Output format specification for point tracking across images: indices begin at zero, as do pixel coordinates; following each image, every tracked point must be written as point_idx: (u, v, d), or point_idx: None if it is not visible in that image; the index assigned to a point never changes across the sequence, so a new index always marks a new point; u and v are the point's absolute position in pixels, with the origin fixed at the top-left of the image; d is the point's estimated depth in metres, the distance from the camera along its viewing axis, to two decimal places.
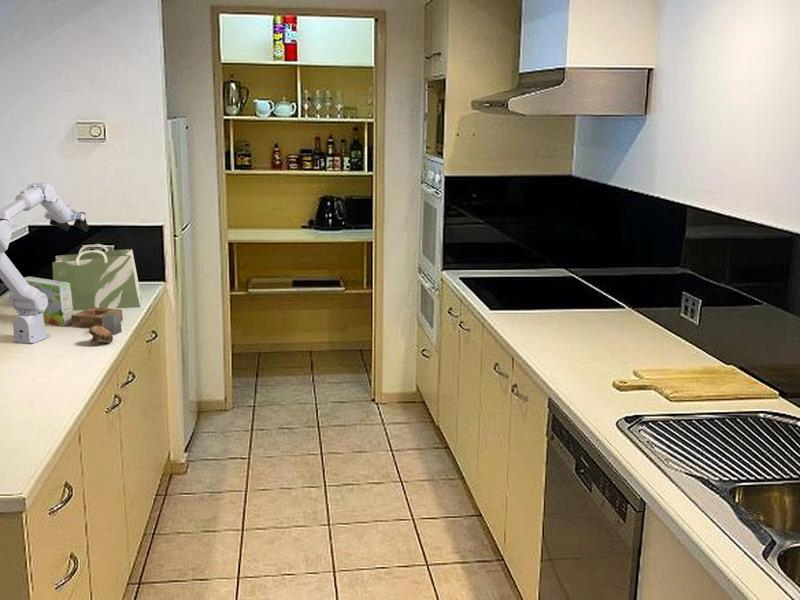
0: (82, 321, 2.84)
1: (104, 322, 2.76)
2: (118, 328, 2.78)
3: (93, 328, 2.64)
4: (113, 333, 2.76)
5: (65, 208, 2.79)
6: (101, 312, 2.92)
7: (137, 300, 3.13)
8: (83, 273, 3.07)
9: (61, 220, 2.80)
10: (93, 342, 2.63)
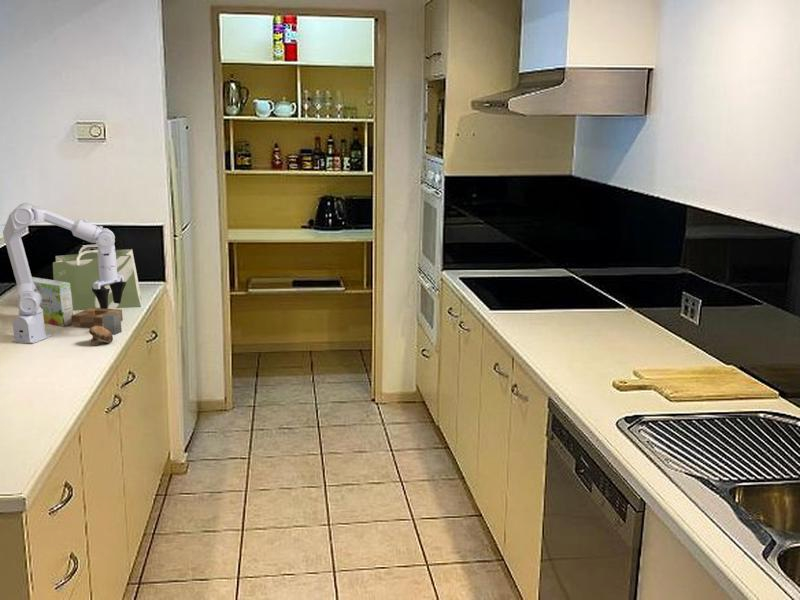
0: (82, 321, 2.84)
1: (104, 322, 2.76)
2: (118, 328, 2.78)
3: (93, 328, 2.64)
4: (113, 333, 2.76)
5: (103, 270, 2.71)
6: (101, 312, 2.92)
7: (137, 300, 3.13)
8: (83, 273, 3.07)
9: None
10: (93, 342, 2.63)
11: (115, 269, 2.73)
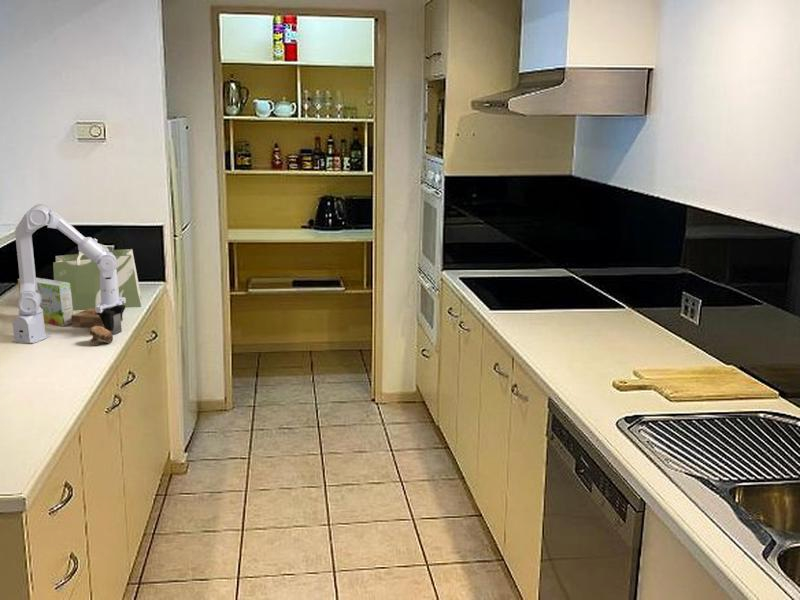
0: (82, 321, 2.84)
1: None
2: (118, 328, 2.78)
3: (93, 328, 2.64)
4: (113, 333, 2.76)
5: (105, 294, 2.73)
6: None
7: (138, 300, 3.13)
8: (84, 273, 3.07)
9: None
10: (93, 342, 2.63)
11: (117, 292, 2.75)
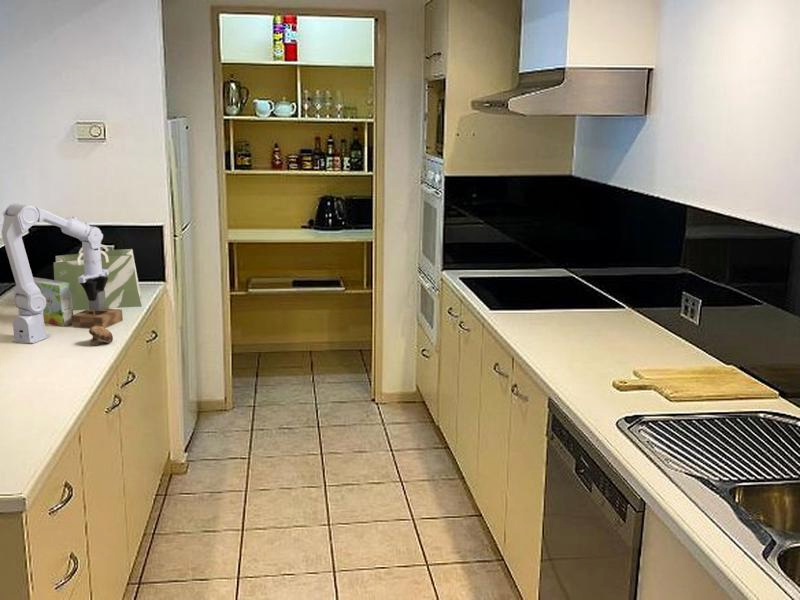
0: (82, 321, 2.84)
1: None
2: (102, 304, 2.88)
3: (93, 328, 2.64)
4: (97, 309, 2.86)
5: (88, 265, 2.82)
6: (101, 312, 2.92)
7: (138, 299, 3.14)
8: None
9: None
10: (93, 342, 2.63)
11: (100, 264, 2.84)
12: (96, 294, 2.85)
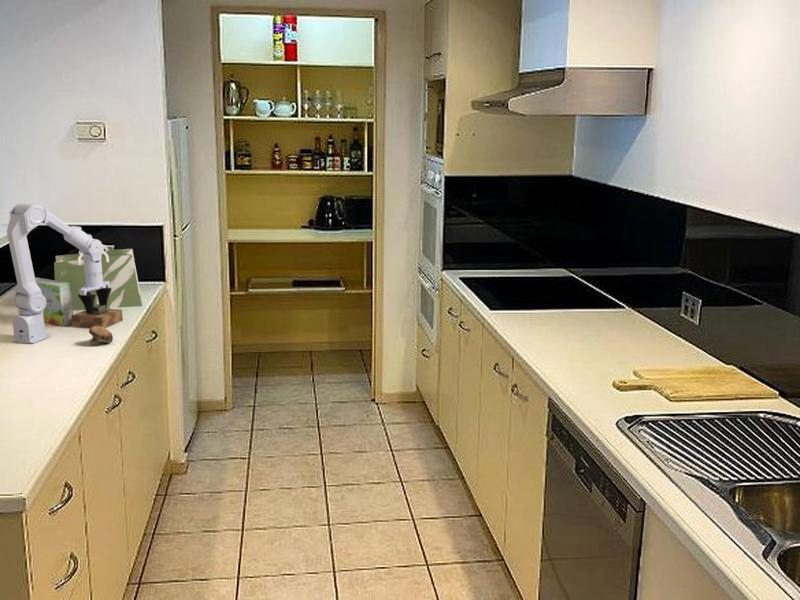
0: (82, 321, 2.84)
1: None
2: None
3: (93, 328, 2.64)
4: None
5: (89, 277, 2.83)
6: None
7: (139, 299, 3.14)
8: None
9: None
10: (93, 342, 2.63)
11: (101, 276, 2.85)
12: (96, 309, 2.86)
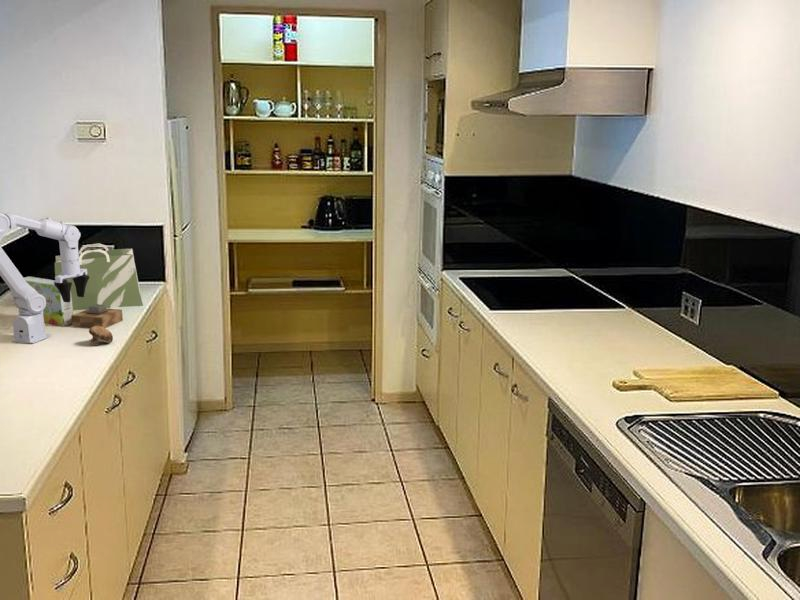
0: (82, 321, 2.84)
1: (89, 313, 2.87)
2: None
3: (93, 328, 2.64)
4: None
5: (65, 264, 2.75)
6: None
7: (139, 299, 3.15)
8: None
9: None
10: (93, 342, 2.63)
11: (77, 263, 2.77)
12: (96, 309, 2.86)
